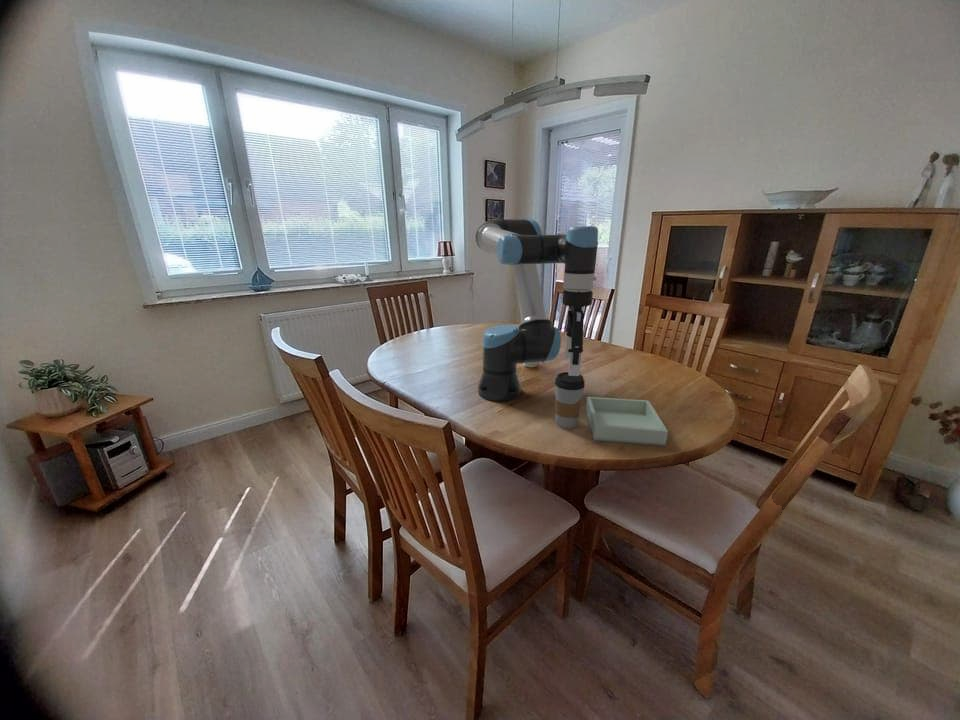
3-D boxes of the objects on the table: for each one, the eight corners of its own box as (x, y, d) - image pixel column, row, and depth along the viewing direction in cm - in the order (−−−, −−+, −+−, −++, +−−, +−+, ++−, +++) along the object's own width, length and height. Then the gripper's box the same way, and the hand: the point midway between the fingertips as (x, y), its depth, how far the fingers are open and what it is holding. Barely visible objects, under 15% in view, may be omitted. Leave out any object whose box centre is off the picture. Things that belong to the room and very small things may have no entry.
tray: (593, 440, 98) (595, 426, 97) (585, 409, 115) (587, 396, 114) (665, 446, 96) (668, 431, 94) (646, 413, 113) (648, 400, 111)
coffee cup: (575, 433, 101) (580, 385, 96) (547, 425, 106) (550, 378, 101) (584, 421, 108) (589, 375, 103) (557, 414, 112) (561, 369, 107)
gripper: (600, 297, 81) (591, 384, 88) (587, 283, 104) (580, 352, 111) (566, 297, 82) (560, 382, 89) (560, 283, 105) (556, 351, 113)
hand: (571, 366), depth 100 cm, fingers open, 13 cm apart
